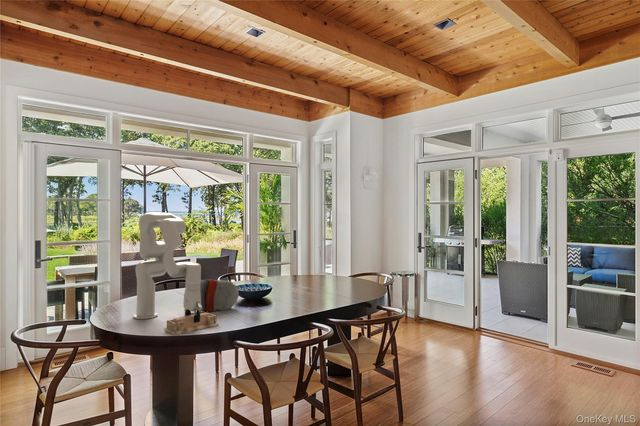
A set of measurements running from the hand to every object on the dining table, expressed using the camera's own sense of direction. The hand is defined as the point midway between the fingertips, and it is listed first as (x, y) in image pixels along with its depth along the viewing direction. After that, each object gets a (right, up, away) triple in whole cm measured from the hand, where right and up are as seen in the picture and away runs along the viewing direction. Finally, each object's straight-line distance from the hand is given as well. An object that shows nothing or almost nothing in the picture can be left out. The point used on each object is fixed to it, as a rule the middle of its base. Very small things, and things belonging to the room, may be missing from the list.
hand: (192, 320), depth 204 cm
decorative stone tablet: (+2, -4, +37) cm, 37 cm away
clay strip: (0, -3, 0) cm, 3 cm away
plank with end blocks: (0, -4, 0) cm, 4 cm away
